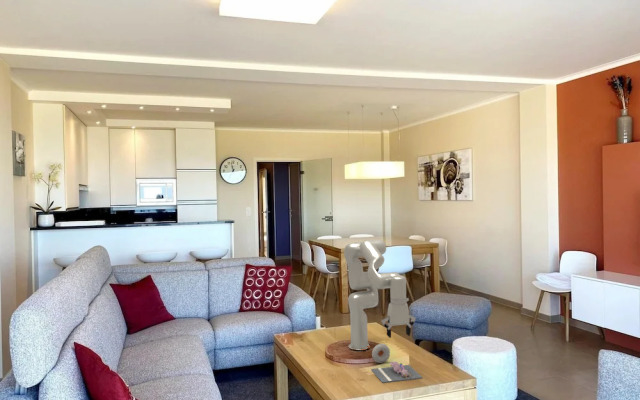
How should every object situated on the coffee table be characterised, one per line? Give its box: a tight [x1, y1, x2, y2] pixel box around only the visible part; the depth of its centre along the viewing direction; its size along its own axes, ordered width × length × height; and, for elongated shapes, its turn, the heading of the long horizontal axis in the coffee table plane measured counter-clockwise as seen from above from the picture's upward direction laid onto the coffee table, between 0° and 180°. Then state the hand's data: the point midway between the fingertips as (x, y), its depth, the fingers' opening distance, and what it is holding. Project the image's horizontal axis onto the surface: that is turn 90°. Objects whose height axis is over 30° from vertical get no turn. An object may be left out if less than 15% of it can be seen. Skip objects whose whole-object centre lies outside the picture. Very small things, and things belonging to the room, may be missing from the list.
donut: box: [371, 343, 391, 364], centre depth 248 cm, size 10×4×10 cm, turn 108°
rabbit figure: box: [389, 361, 411, 378], centre depth 232 cm, size 6×6×15 cm
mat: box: [371, 364, 423, 384], centre depth 233 cm, size 16×20×1 cm
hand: (398, 335), depth 233 cm, fingers open, 9 cm apart
